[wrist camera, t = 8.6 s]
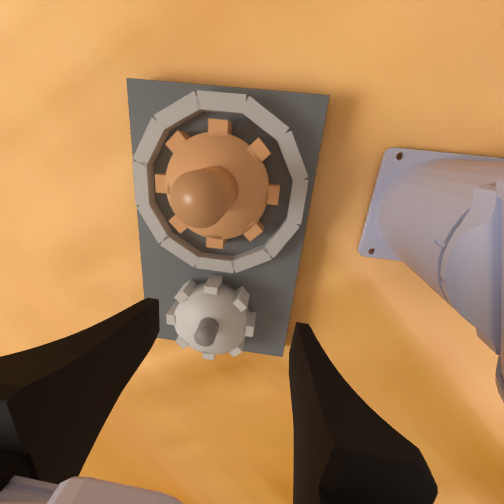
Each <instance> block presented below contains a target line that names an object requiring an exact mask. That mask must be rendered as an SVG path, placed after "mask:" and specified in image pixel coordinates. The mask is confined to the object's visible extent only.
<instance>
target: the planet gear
mask: <svg viewBox="0 0 504 504" xmlns="http://www.w3.org/2000/svg"><path fill="white" fill-rule="evenodd" d="M165 144H166V146H167V147H168V148H169V149H170V150H171V151H172V153H173V155H172V157H171V159H170V161H169V164H168V167H167V170H166V173H159V174H155V186H156V192H157V193H166V194H167V198H168V201H169V203H170V206H171V208H172V210H173V211H174V213H175V215H174V216H173V217H172V218H171V219H170V220H169V222H170V223H171V224H172V225H173V226H174V228H175V229H176V230H177V231H178V232H179V233H182V232H183V231H184V230H185V229H187V228H189V229H190V230H192V231H193V232H195V233H197V234H199V235H201V236H204V237H207V238H206V247H210V248H218V249H223V247H224V246H225V244H226V242H227V239H229V238H234V237H237V236H239V235H241V234H244V236H245V237H246V238H247V239H248V240H249V241H251V240H253V239H254V238H255V237H257V236H258V235H259V234H260V233H262V232H263V229H264V225H263V224H262V223H261V221H260V220H259V219H260V217H261V216H262V214H263V212H264V210H265V207H266V204H271V205H278V199H279V191H280V184H276V183H269V176H268V171H267V169H266V166H265V164H264V162H263V161H264V160H265V159H266V158H267V157H268V156H269V155H270V154H272V153H271V152H270V150H269V149H268V148H267V146H266V145H265V144H264V142H263V141H262V140H261V138H259V137H258V138H257V139H256V140H255V141H254V142H253V143H252V144H251V145H250V144H248V143H247V142H245V141H244V140H242V139H240V138H238V137H236V136H233V135H232V122H231V121H229V120H222V119H210V118H208V132H206V133H201V134H198V135H195V136H193V137H190V136H189V135H188V134H187V133H186V132H184V131H178V130H177V132H176V133H175V134H174V135H173V136H172V137H171V138H170V139H169V140H168V141H167V142H166V143H165Z"/></svg>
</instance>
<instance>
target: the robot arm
mask: <svg viewBox="0 0 504 504" xmlns="http://www.w3.org/2000/svg"><path fill="white" fill-rule="evenodd" d="M399 152H401V153H402V157H401V159H399V160H397V158H396V155H397V154H398V153H399ZM372 248H373V249H374V251H373V252H372V253H369V250H370V249H372ZM358 252H359V254H360V255H361V256H365V257H373V258H381V259H389V260H397V261H403V262H404V263H405V264H406V265H407V266H408V267H409V268H410V269H411V270H413V271H414V272H415V273H416V274H417V275H418V276H419V277H420V278H421V279H422V280H423V281H424V282H426V283H427V284H428V285H429V286H430V287H431V288H432V289H433V290H434V291H435V292H436V293H437V294H439V295H440V296H441V297H442V298H443V299H444V300H445V301H446V302H447V303H448V304H449V305H450V306H452V307H453V308H454V309H455V310H456V311H457V312H458V313H459V314H460V315H461V316H462V317H464V318H465V319H466V320H467V321H468V322H469V323H471V324H472V325H473V326H475V328H476V330H477V336H478V337H479V338H480V339H481V340H482V341H483V342H484V343H485V344H486V345H487V346H488V347H490V348H491V349H492V350H493V351H494V352H495V353H496V354H497V355H500V356H499V357H498V363H497V368H496V385H497V389H498V392H499V394H500V396H501V398H502V400H503V402H504V158H499V157H489V156H478V155H468V154H457V153H447V152H437V151H426V150H416V149H406V148H395V147H393V148H389V149H387V150H386V151H385V152H384V154H383V158H382V161H381V165H380V169H379V172H378V176H377V180H376V183H375V187H374V191H373V194H372V198H371V202H370V205H369V209H368V213H367V217H366V220H365V224H364V228H363V231H362V235H361V239H360V242H359V246H358ZM159 331H160V320H159V299H154V298H146V299H144V300H142V301H140V302H138V303H136V304H134V305H132V306H131V307H129V308H127V309H125V310H123V311H121V312H120V313H118V314H116V315H114V316H112V317H110V318H108V319H106V320H104V321H102V322H100V323H98V324H96V325H94V326H92V327H89V328H87V329H85V330H83V331H80V332H78V333H75V334H73V335H70V336H68V337H65V338H62V339H59V340H56V341H53V342H51V343H48V344H45V345H42V346H39V347H35V348H32V349H28V350H25V351H21V352H17V353H14V354H10V355H6V356H2V357H0V504H183V503H182V502H181V501H179V500H178V499H177V498H175V497H173V496H170V495H167V494H164V493H162V492H158V491H153V490H148V489H143V488H139V487H134V486H129V485H124V484H119V483H115V482H110V481H105V480H100V479H96V478H91V477H78V476H79V474H80V472H81V469H82V467H83V465H84V463H85V461H86V459H87V457H88V455H89V453H90V451H91V449H92V447H93V445H94V443H95V441H96V439H97V437H98V435H99V433H100V431H101V429H102V427H103V425H104V423H105V421H106V419H107V417H108V416H109V414H110V412H111V410H112V408H113V406H114V405H115V403H116V401H117V399H118V397H119V396H120V394H121V392H122V391H123V389H124V388H125V386H126V385H127V383H128V382H129V380H130V379H131V377H132V376H133V374H134V373H135V371H136V370H137V368H138V367H139V365H140V364H141V363H142V361H143V360H144V358H145V357H146V355H147V354H148V352H149V351H150V349H151V347H152V345H153V344H154V342H155V340H156V338H157V336H158V333H159ZM289 380H290V390H291V401H292V411H293V425H294V484H293V504H433V503H434V501H435V498H436V496H437V494H438V488H437V484H436V482H435V480H434V478H433V476H432V474H431V471H430V469H429V467H428V465H427V463H426V461H425V459H424V457H423V455H422V454H421V452H420V450H419V448H417V447H416V446H415V445H414V444H412V443H411V442H410V441H409V440H407V439H406V438H405V437H403V436H402V435H401V434H400V433H398V432H397V431H396V430H395V429H393V428H392V427H391V426H390V425H389V424H388V423H387V422H385V421H384V420H383V419H382V418H381V417H380V416H379V415H378V414H377V413H376V412H374V411H373V410H372V409H371V408H370V407H369V406H368V405H367V404H366V403H365V402H364V401H363V400H362V399H361V398H360V397H359V396H358V394H357V393H356V392H355V391H354V390H353V389H352V388H351V387H350V385H349V384H348V383H347V382H346V381H345V380H344V378H343V377H342V376H341V375H340V373H339V372H338V371H337V369H336V368H335V366H334V365H333V364H332V362H331V361H330V359H329V358H328V356H327V355H326V353H325V351H324V350H323V348H322V347H321V345H320V343H319V342H318V340H317V338H316V336H315V335H314V333H313V331H312V329H311V327H310V326H309V324H305V323H299V322H296V326H295V330H294V335H293V339H292V343H291V348H290V352H289Z"/></svg>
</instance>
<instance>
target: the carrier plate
mask: <svg viewBox="0 0 504 504" xmlns="http://www.w3.org/2000/svg"><path fill="white" fill-rule="evenodd" d="M126 79H127V91H128V104H129V116H130V128H131V140H132V153H133V161H132V165H133V177H134V189H135V201H136V205H137V214H138V226H139V239H140V251H141V263H142V275H143V288H144V299H146V298H154V299H159V320H160V331H159V333H158V336H157V338H163V339H169V340H176V341H175V342H176V343H177V344H179V345H180V346H181V347H182V348H183V349H184V348H186V347H188V346H190V347H191V348H193V349H195V350H197V351H199V352H202V353H203V359H210V360H214V358H215V355H216V354H224V353H227V352H229V353H230V354H231V355H232V356H233V357H234V356H236V355H238V354H240V353H241V352H243V351H247V352H254V353H260V354H267V355H273V356H280V357H283V351H284V346H285V340H286V335H287V329H288V323H289V318H290V312H291V307H292V301H293V296H294V290H295V285H296V279H297V274H298V268H299V263H300V257H301V251H302V246H303V240H304V235H305V229H306V224H307V218H308V213H309V207H310V202H311V196H312V191H313V185H314V179H315V174H316V168H317V163H318V157H319V152H320V146H321V141H322V135H323V130H324V124H325V118H326V113H327V107H328V102H329V96H330V95H321V94H310V93H298V92H286V91H274V90H262V89H250V88H239V87H227V86H215V85H203V84H191V83H180V82H168V81H156V80H144V79H132V78H126ZM208 118H210V119H222V120H229V121H231V122H232V135H233V136H236V137H238V138H240V139H242V140H244V141H245V142H247V143H248V144H250V145H251V144H252V143H253V142H254V141H255V140H256V139H257V138H258V137H259V138H261V140H262V141H263V142H264V144H265V145H266V146H267V148H268V149H269V150H270V152H271V153H272V154H270V155H269V156H268V157H267V158H266V159H265V160H264V161H263V162H264V164H265V166H266V169H267V171H268V176H269V183H276V184H280V191H279V199H278V205H271V204H266V207H265V210H264V212H263V214H262V216H261V217H260V219H259V220H260V221H261V223H262V224H263V225H264V229H263V232H262V233H260V234H259V235H258V236H257V237H255V238H254V239H253V240H251V241H249V240H248V239H247V238H246V237H245V236H244V234H241V235H239V236H237V237H234V238H229V239H227V242H226V244H225V246H224V247H223V249H218V248H210V247H206V238H207V237H204V236H201V235H199V234H197V233H195V232H193V231H192V230H190V229H189V228H187V229H185V230H184V231H183V232H182V233H179V232H178V231H177V230H176V229H175V228H174V226H173V225H172V224H171V223H170V222H169V220H170V219H171V218H172V217H173V216H174V215H175V213H174V211H173V210H172V208H171V206H170V203H169V201H168V198H167V194H166V193H157V192H156V186H155V174H159V173H166V170H167V167H168V164H169V161H170V159H171V157H172V155H173V153H172V151H171V150H170V149H169V148H168V147H167V146H166V144H165V143H166V142H167V141H168V140H169V139H170V138H171V137H172V136H173V135H174V134H175V133H176V132H177V130H178V131H184V132H186V133H187V134H188V135H189V136H190V137H193V136H195V135H198V134H201V133H206V132H208Z"/></svg>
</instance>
